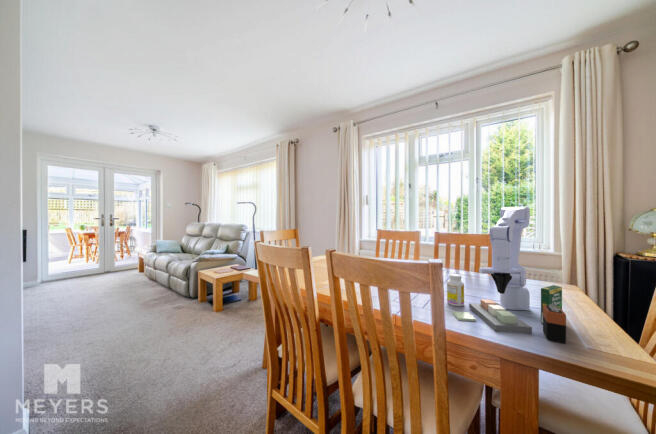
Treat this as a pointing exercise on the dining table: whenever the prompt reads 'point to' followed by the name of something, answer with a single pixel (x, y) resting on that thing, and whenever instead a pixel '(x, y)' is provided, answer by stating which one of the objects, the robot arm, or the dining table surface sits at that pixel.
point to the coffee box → (551, 297)
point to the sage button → (506, 317)
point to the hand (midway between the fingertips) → (500, 292)
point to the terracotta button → (487, 303)
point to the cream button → (495, 309)
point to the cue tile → (464, 316)
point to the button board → (496, 324)
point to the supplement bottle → (455, 290)
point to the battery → (554, 323)
